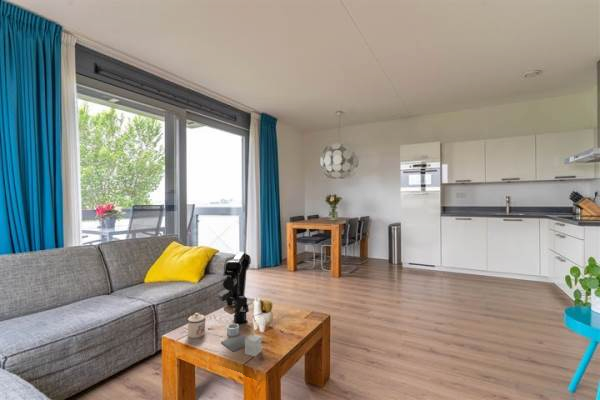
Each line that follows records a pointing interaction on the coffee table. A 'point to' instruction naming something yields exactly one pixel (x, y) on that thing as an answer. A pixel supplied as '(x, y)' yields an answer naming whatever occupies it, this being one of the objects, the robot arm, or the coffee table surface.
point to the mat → (235, 342)
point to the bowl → (233, 329)
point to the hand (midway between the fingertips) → (233, 312)
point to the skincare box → (253, 345)
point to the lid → (231, 309)
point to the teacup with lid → (196, 326)
